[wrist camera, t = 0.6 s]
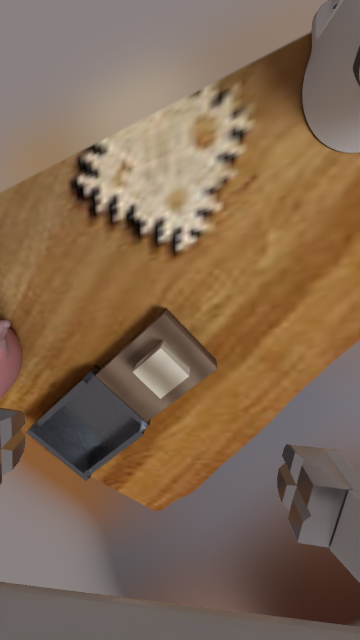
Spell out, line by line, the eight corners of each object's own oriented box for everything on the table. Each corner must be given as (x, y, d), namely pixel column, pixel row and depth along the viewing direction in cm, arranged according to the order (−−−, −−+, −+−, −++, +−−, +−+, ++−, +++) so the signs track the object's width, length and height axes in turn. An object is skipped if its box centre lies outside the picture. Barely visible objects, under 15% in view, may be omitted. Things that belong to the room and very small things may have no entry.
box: (95, 364, 47) (83, 379, 42) (151, 416, 49) (146, 435, 44) (42, 413, 51) (26, 432, 46) (96, 459, 53) (85, 481, 48)
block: (163, 340, 41) (160, 348, 38) (190, 366, 42) (189, 376, 39) (137, 363, 42) (132, 372, 40) (163, 388, 43) (160, 398, 41)
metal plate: (166, 308, 42) (164, 313, 39) (216, 359, 44) (217, 368, 42) (101, 367, 47) (95, 375, 44) (149, 411, 49) (146, 422, 46)
